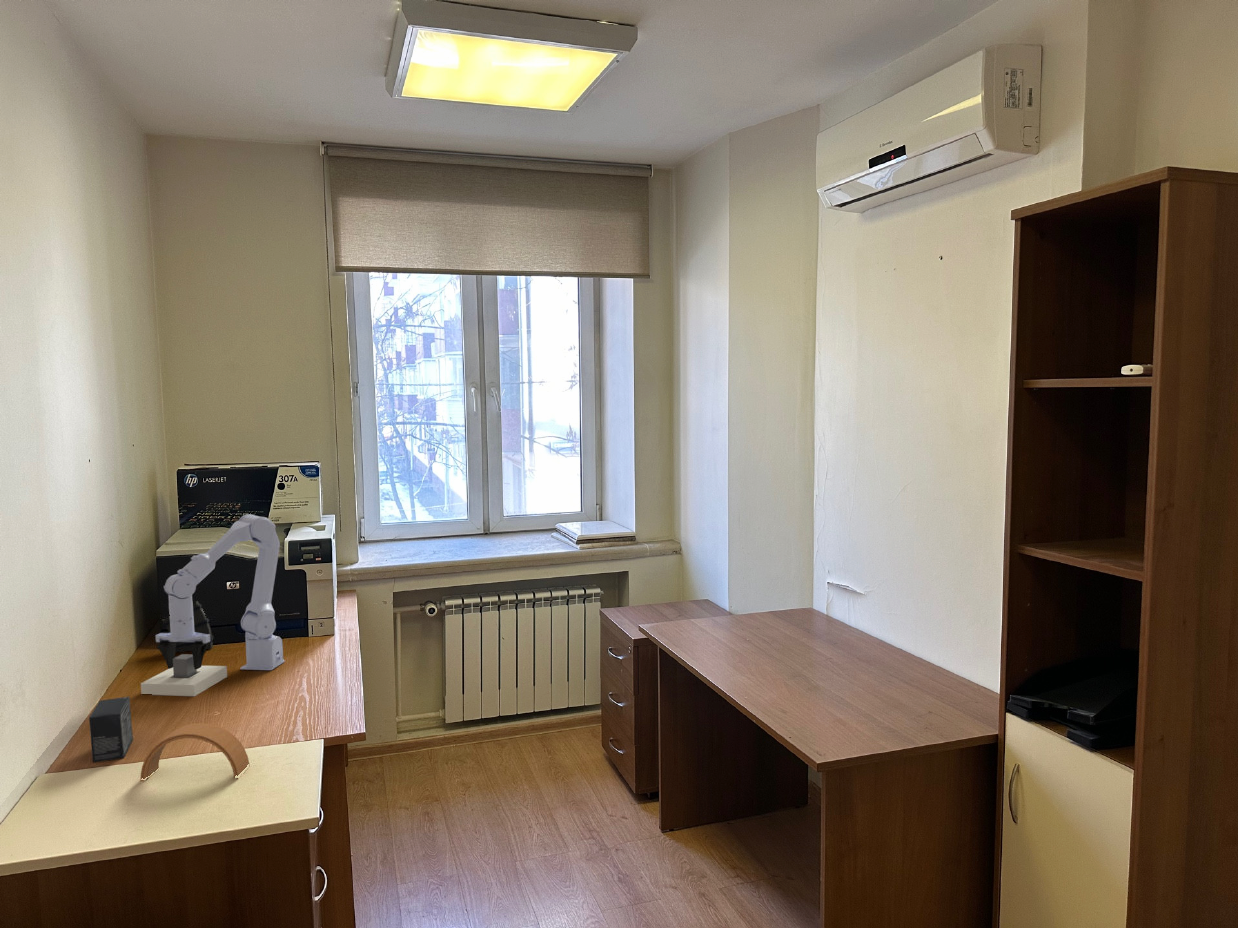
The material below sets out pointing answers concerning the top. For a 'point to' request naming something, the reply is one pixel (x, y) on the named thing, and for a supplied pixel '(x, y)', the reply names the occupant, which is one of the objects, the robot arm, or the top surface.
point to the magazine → (199, 627)
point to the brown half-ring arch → (206, 733)
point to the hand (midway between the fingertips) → (184, 667)
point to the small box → (111, 729)
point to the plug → (184, 666)
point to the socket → (184, 682)
